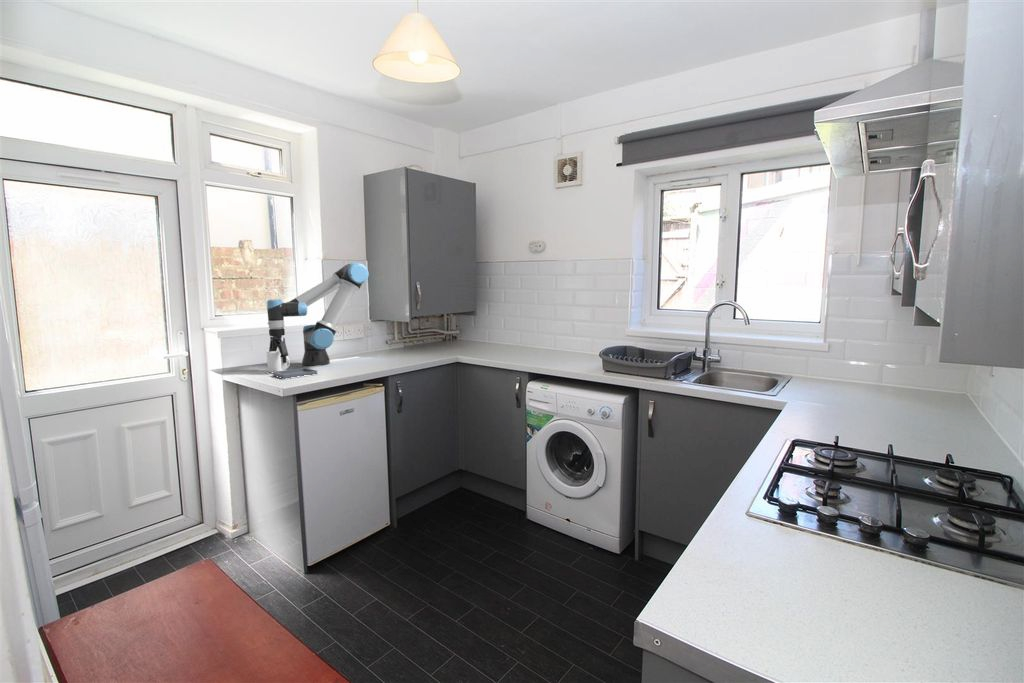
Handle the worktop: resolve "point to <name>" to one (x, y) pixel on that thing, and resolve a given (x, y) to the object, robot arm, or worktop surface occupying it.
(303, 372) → the holder tray
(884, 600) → the worktop surface
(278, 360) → the mug
